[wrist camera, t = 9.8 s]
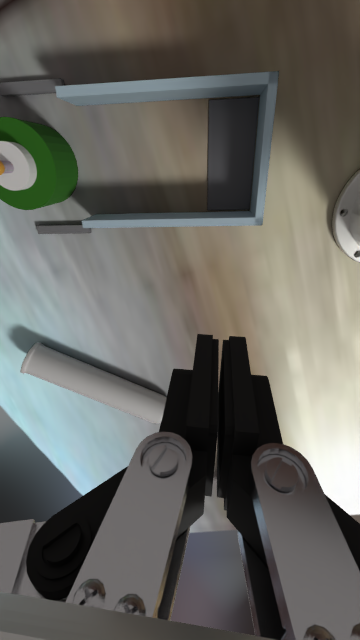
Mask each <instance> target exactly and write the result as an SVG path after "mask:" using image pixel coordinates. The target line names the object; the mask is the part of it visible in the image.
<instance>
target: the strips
mask: <svg viewBox="0 0 360 640" xmlns="http://www.w3.org/2000/svg"><path fill="white" fill-rule="evenodd" d="M55 86H64V81H63V79H61V78H60V79H45V80H31V81H17V82H3V83H0V95H1V96H16V95H31V94H46V93H56V89H55ZM37 230H38V234H64V233H91V228H83V225H82V224H73V225H38V226H37Z"/></svg>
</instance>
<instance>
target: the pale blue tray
mask: <svg viewBox="0 0 360 640" xmlns="http://www.w3.org/2000/svg"><path fill="white" fill-rule="evenodd" d="M278 76H279V71H273V72H259V73H244V74H229V75H215V76H200V77H185V78H171V79H156V80H141V81H126V82H112V83H97V84H82V85H68V86H55V89H56V94H57V98H60V99H62V100H64V101H67V102H69V103H72V104H74V105H76V106H83V105H100V104H116V103H133V102H150V101H166V100H183V99H199V98H216V97H232V96H249V95H260V101H259V97H254V98H237V99H220V100H209V140H208V207H207V210H246V209H250V211H228V212H180V213H131V214H95V215H93V216H91V217H89V218H86V219H84V220H82V225H83V228H117V227H180V226H244V225H262V223H263V214H264V205H265V196H266V187H267V177H268V168H269V159H270V150H271V141H272V131H273V122H274V113H275V104H276V95H277V85H278ZM258 103H259V113H258ZM257 115H258V125H257ZM256 127H257V136H256ZM255 138H256V148H255ZM254 150H255V160H254ZM253 162H254V171H253ZM252 174H253V183H252ZM251 186H252V195H251ZM250 197H251V206H250Z"/></svg>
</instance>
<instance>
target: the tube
mask: <svg viewBox="0 0 360 640" xmlns="http://www.w3.org/2000/svg"><path fill="white" fill-rule="evenodd" d="M20 372H21V373H23V374H24V373H28V374H30V375H33V376H35V377H38V378H40V379H43V380H46V381H48V382H51V383H53V384H56V385H58V386H61V387H63V388H66V389H68V390H71V391H73V392H76V393H78V394H81V395H83V396H86V397H89V398H91V399H94V400H96V401H99V402H101V403H104V404H106V405H109V406H111V407H114V408H116V409H119V410H121V411H124V412H127V413H129V414H132V415H134V416H137V417H139V418H142V419H144V420H147V421H149V422H152V423H154V424H157V423H160V422H161V421H162V417H163V412H164V408H165V403H166V399H167V398H166V397H165V396H164V395H161V394H159V393H156V392H154V391H152V390H149V389H147V388H144V387H142V386H140V385H137V384H135V383H132V382H130V381H128V380H125V379H123V378H120V377H118V376H116V375H113V374H111V373H108V372H106V371H104V370H101V369H99V368H96V367H94V366H92V365H89V364H87V363H84V362H82V361H80V360H77V359H75V358H72V357H70V356H68V355H65V354H63V353H60V352H58V351H56V350H53V349H51V348H48V347H46V346H44V345H43V344H42V343H35V344H34V346H33V347H32V348H31V349H30V350H29V351H28V353H27V355H26V357H25V359H24V361H23V363H22V367H21V371H20Z"/></svg>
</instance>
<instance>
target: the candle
mask: <svg viewBox="0 0 360 640" xmlns="http://www.w3.org/2000/svg"><path fill="white" fill-rule="evenodd" d="M77 180H78V166H77V161H76V158H75V155H74V153H73V151H72V149H71V147H70V145H69V144H68V143H67V141H66V140H65V139H64V138H63V137H62V136H61V135H60V134H59V133H58V132H56V131H55V130H53V129H52V128H50V127H48V126H45V125H41V124H37V123H33V122H28V121H24V120H19V119H15V118H10V117H0V199H1V200H2V201H4V202H5V203H7V204H9V205H10V206H13V207H15V208H18V209H23V210H33V209H37V208H40V207H44V206H48V205H52V204H55V203H59V202H62V201H64V200H66V199H67V198H68V197H69V196H71V194H72V193H73V191H74V190H75V187H76V185H77Z"/></svg>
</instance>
